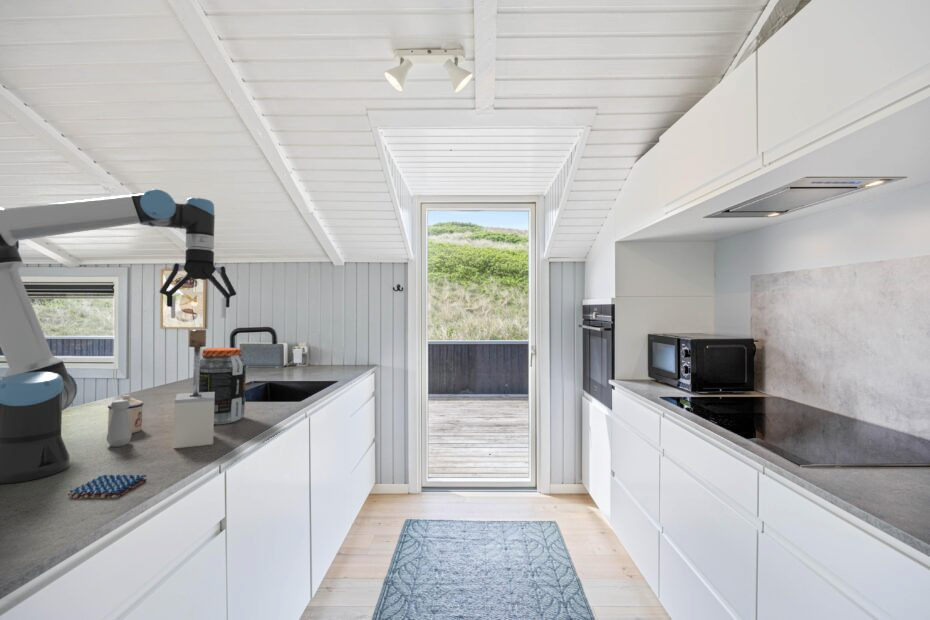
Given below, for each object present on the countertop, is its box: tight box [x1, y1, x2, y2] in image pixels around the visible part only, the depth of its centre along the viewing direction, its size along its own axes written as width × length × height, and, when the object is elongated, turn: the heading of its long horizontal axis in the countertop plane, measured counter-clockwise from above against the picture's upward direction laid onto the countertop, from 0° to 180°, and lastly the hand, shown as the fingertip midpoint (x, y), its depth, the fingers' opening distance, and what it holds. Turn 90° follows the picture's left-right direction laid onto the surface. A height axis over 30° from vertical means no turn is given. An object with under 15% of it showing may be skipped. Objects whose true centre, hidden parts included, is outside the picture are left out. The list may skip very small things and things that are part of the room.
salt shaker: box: [106, 399, 132, 448], centre depth 129 cm, size 6×6×13 cm
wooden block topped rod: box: [188, 329, 207, 397], centre depth 134 cm, size 7×7×24 cm
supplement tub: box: [199, 347, 247, 425], centre depth 159 cm, size 16×16×26 cm
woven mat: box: [67, 474, 148, 500], centre depth 99 cm, size 10×11×2 cm
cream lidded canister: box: [107, 394, 144, 434], centre depth 143 cm, size 12×9×12 cm
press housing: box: [172, 392, 215, 449], centre depth 134 cm, size 10×10×14 cm
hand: (199, 318), depth 136 cm, fingers open, 13 cm apart
